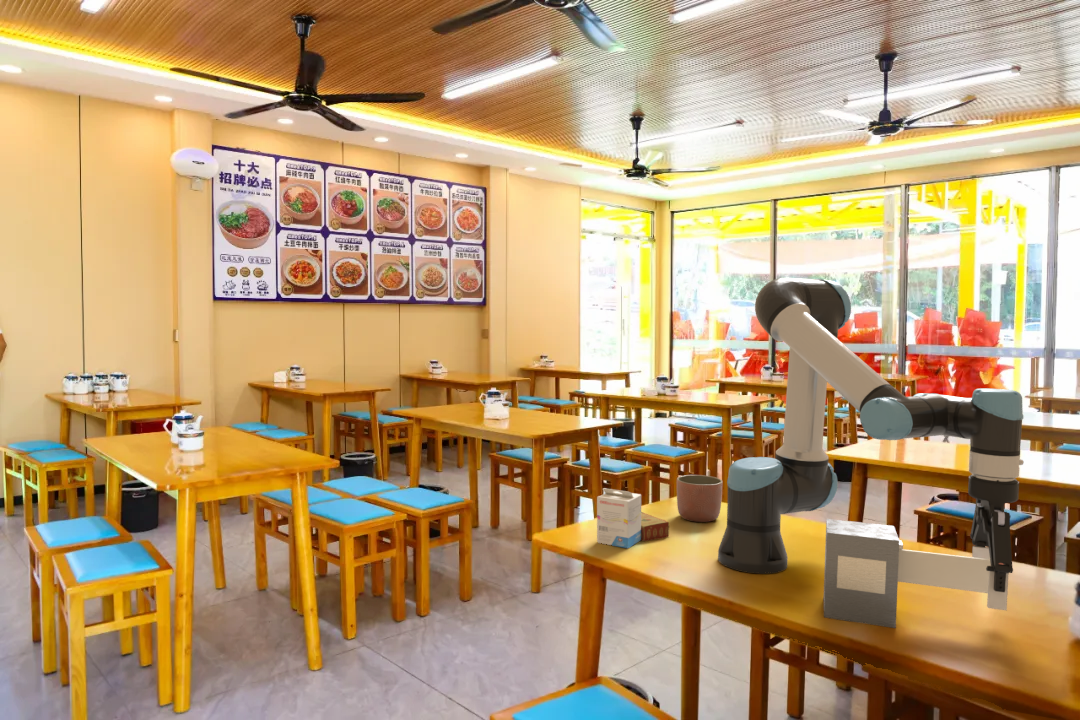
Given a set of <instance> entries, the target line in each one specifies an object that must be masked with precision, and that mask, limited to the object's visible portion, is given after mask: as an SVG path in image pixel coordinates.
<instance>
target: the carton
mask: <svg viewBox="0 0 1080 720" xmlns="http://www.w3.org/2000/svg"><path fill="white" fill-rule="evenodd" d="M669 535H670V522H669V521H667V520H665V519H661V518H659V517H656V516H653V515H650V514H649V513H645V512H642V511H641V540H640V541H642V542H648V541H652V540H653V541H654V540H658V539H664V538H665V539H666V538H668V537H669Z"/></svg>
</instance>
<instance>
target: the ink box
mask: <svg viewBox="0 0 1080 720" xmlns="http://www.w3.org/2000/svg"><path fill="white" fill-rule="evenodd" d="M602 490H603V492H604V493H603V494H601V495H598V496H596V528H597V530H596V543H597V542H598V543H597V544H601V543H602V545H606V544H607V545H606V546H611V545H612V546H613V547H618V548H623V549H628V548H629V549H630V548H631V547H633V546H635V545H636V544H637V543H639V542H640V541H642V540H641V512H642V494H641V493H634V492H631V491H628V490H627V491H626V490H619V489H613V488H605V487H604V488H602Z"/></svg>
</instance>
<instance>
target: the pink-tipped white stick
mask: <svg viewBox="0 0 1080 720" xmlns="http://www.w3.org/2000/svg"><path fill="white" fill-rule="evenodd" d="M999 564H1002V565H1004V564H1003V563H999ZM987 566H991V563H990V559H983V558H974V557H972V556H966V555H965V556H964V555H957V554H955V555H954V554H947V553H939V552H929V551H921V550H914V549H913V550H911V549H904V548H903V549H899V563H898V583H906V584H912V585H913V584H915V585H919V586H920V585H921V586H929V587H936V588H944V589H951V590H958V591H959V590H960V591H969V592H975V593H983V594H988V578H989V571H987V570H986V568H987Z"/></svg>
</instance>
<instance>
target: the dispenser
mask: <svg viewBox="0 0 1080 720" xmlns="http://www.w3.org/2000/svg"><path fill="white" fill-rule="evenodd" d="M824 547H825V552H824V575H823V577H824V579H823V618H827V619H831V620H832V619H833V620H840V621H847V622H854V623H859V624H867V625H873V626H878V627H879V626H880V627H887V628H893V629H896V628H897V609H898V608H897V604H898V583H899V582H898V563H899V549H904V544H903V541H902V539H901V540H900V538H899V535H898V534H897V531H896V527H895V526H894V525H890V524H888V525H887V524H880V523H879V524H878V523H868V522H861V521H851V520H841V519H832V518H831V519H830V518H826V523H825V546H824Z"/></svg>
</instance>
